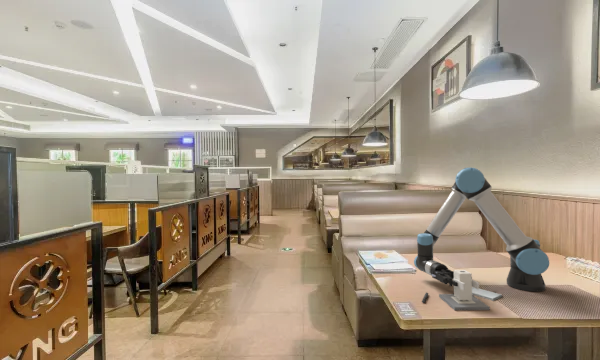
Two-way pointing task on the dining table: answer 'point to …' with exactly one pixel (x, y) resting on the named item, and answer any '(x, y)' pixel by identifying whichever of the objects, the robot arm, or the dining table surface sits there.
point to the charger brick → (467, 279)
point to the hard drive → (485, 294)
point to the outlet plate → (463, 303)
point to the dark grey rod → (425, 297)
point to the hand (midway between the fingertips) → (471, 286)
